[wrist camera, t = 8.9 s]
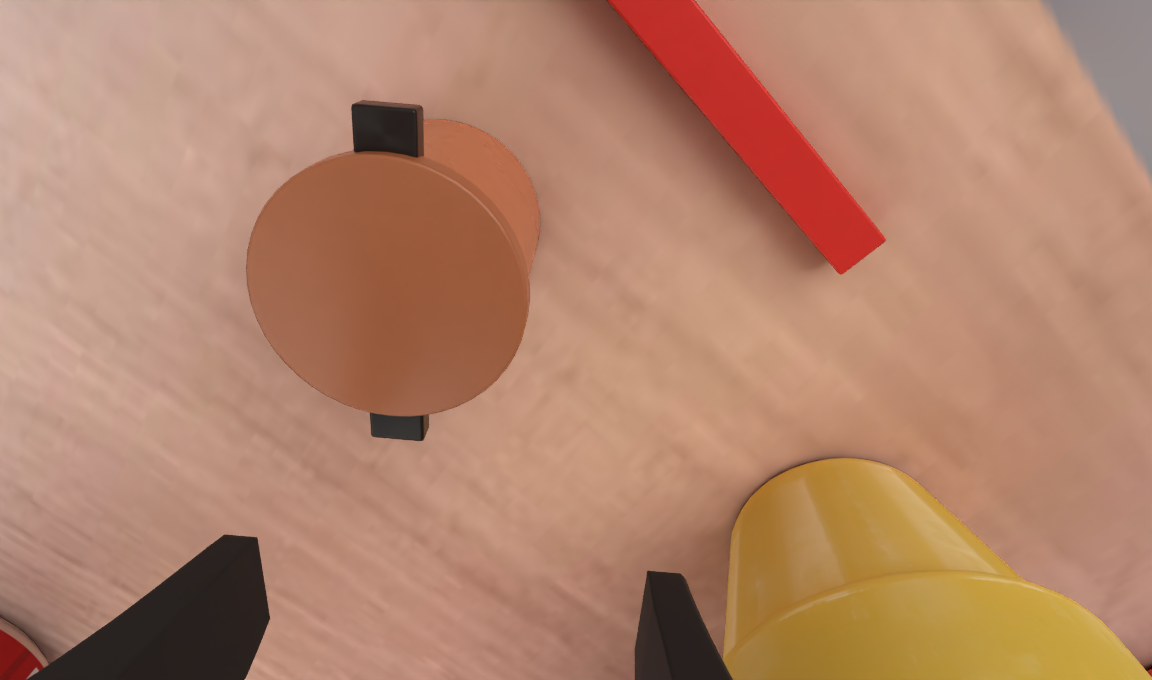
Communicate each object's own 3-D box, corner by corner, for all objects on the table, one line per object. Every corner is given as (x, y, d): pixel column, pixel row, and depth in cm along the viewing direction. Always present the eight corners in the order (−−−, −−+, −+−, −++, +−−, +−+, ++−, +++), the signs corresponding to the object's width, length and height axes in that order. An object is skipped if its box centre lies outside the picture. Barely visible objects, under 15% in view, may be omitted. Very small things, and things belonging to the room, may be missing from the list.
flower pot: (763, 685, 26) (843, 1027, 18) (613, 503, 23) (619, 816, 14) (1037, 574, 24) (1297, 916, 15) (914, 346, 20) (1159, 615, 11)
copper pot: (540, 346, 20) (519, 458, 15) (349, 329, 20) (267, 437, 15) (556, 87, 17) (536, 122, 12) (331, 68, 17) (218, 95, 12)
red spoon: (903, 206, 18) (922, 219, 17) (802, 284, 19) (814, 301, 18) (507, -305, 14) (499, -330, 13) (405, -170, 15) (390, -182, 14)
